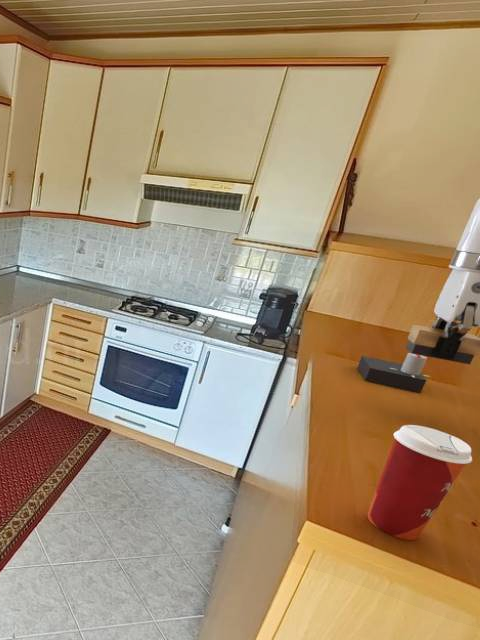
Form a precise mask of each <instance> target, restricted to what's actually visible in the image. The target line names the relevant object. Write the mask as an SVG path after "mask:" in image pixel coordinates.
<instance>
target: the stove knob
mask: <svg viewBox="0 0 480 640" xmlns="http://www.w3.org/2000/svg"><path fill="white" fill-rule="evenodd" d="M427 359H428V356H422V355H417V354H412V353H411V352H408V353H407V355H406V357H405V359H404V361H403V362H402V364H403V366H402V368H401V371H402V372H404V373H407V374H411V375H420V373H421V372H422V370H423V368H424V366H425V364H426V362H427Z"/></svg>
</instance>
